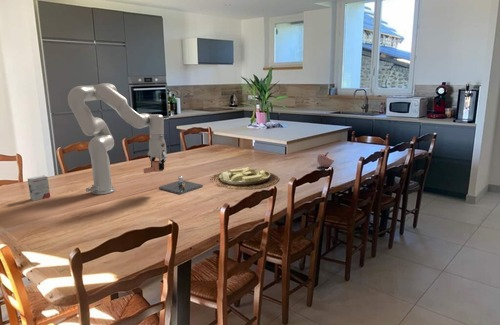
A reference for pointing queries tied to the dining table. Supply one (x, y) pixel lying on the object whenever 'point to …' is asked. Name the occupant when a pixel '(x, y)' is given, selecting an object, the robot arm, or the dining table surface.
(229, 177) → the plate
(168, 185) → the post plate
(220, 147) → the dining table surface
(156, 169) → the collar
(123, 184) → the dining table surface
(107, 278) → the dining table surface
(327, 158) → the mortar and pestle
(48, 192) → the ink box
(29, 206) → the dining table surface
